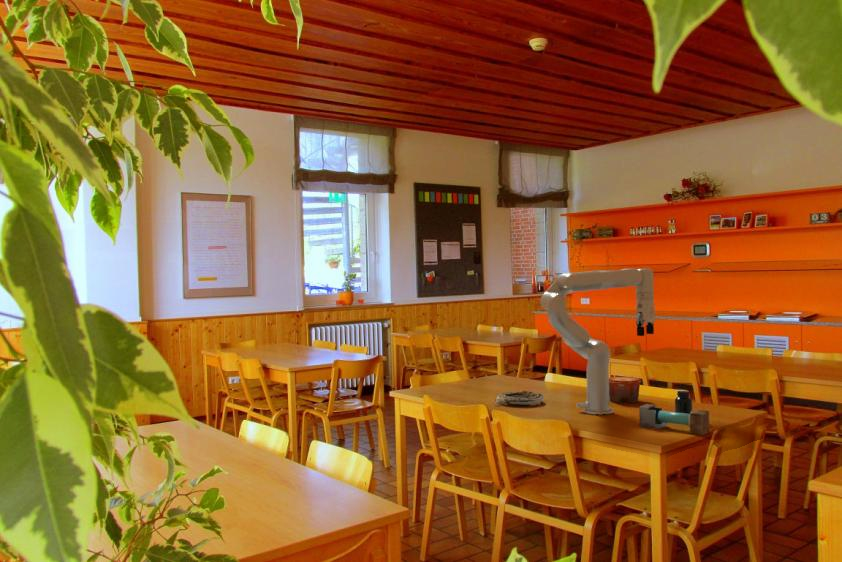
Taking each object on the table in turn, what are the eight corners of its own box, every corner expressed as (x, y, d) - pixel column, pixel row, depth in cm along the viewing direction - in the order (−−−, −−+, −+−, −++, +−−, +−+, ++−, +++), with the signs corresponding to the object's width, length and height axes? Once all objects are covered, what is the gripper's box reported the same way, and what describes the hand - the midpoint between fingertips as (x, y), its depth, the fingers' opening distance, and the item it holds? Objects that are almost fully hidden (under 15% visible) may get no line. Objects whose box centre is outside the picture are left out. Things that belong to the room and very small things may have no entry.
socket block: (690, 434, 271) (689, 413, 271) (698, 430, 277) (697, 409, 277) (701, 435, 268) (701, 414, 268) (709, 431, 274) (708, 411, 274)
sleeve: (639, 426, 285) (639, 406, 284) (646, 423, 290) (646, 404, 290) (660, 429, 279) (659, 409, 279) (667, 426, 284) (666, 406, 284)
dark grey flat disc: (531, 396, 357) (531, 386, 357) (562, 406, 332) (562, 396, 332) (482, 402, 346) (481, 392, 346) (510, 412, 321) (510, 401, 321)
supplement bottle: (695, 421, 292) (695, 392, 291) (679, 422, 291) (679, 392, 291) (688, 418, 298) (687, 389, 298) (672, 418, 298) (671, 390, 298)
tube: (656, 425, 280) (656, 409, 280) (663, 422, 285) (663, 406, 285) (698, 431, 270) (697, 414, 269) (704, 428, 274) (703, 411, 274)
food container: (638, 398, 345) (638, 376, 344) (644, 404, 329) (643, 381, 329) (604, 398, 347) (604, 376, 347) (608, 404, 331) (608, 381, 331)
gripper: (644, 297, 308) (645, 337, 308) (660, 295, 321) (661, 333, 321) (628, 297, 312) (628, 336, 313) (644, 295, 325) (645, 332, 326)
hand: (645, 334), depth 317 cm, fingers open, 9 cm apart
